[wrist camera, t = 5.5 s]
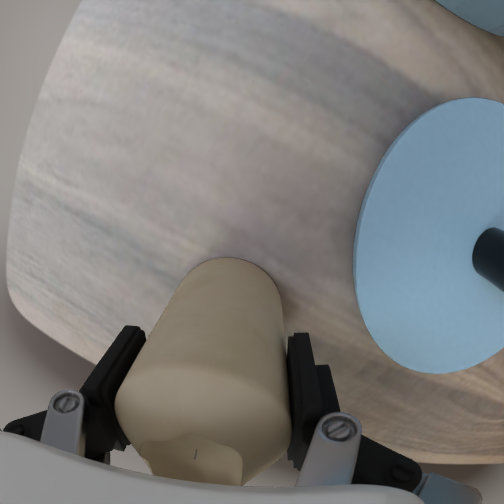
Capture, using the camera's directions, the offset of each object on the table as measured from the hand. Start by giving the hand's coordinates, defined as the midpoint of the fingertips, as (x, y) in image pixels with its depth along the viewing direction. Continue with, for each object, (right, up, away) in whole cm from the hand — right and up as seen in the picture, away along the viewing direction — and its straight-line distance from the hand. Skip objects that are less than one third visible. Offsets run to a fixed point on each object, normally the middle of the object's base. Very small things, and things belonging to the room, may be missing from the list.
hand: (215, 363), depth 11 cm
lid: (+14, +5, +2) cm, 15 cm away
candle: (0, +2, +5) cm, 5 cm away
